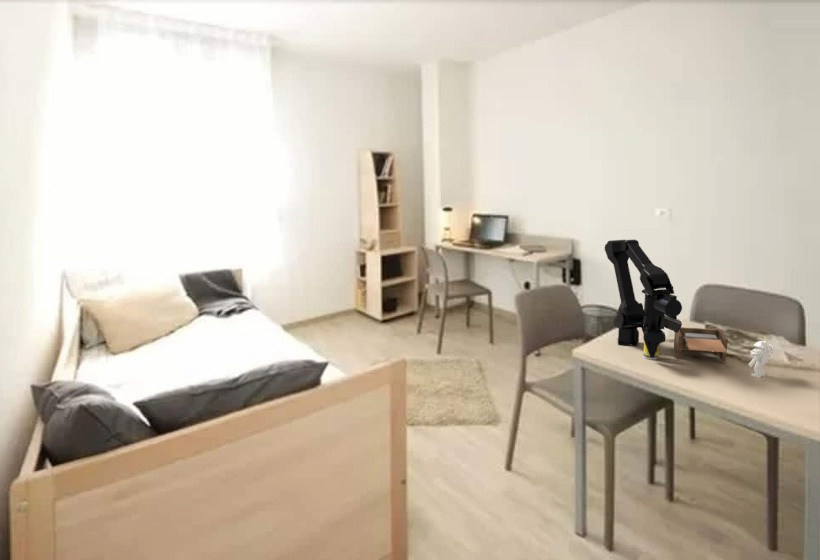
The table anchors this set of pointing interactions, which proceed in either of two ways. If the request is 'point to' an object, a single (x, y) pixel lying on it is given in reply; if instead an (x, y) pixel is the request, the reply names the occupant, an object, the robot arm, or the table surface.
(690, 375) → the table surface
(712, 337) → the flap
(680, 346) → the stand
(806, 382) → the table surface
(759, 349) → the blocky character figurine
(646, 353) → the supplement bottle
